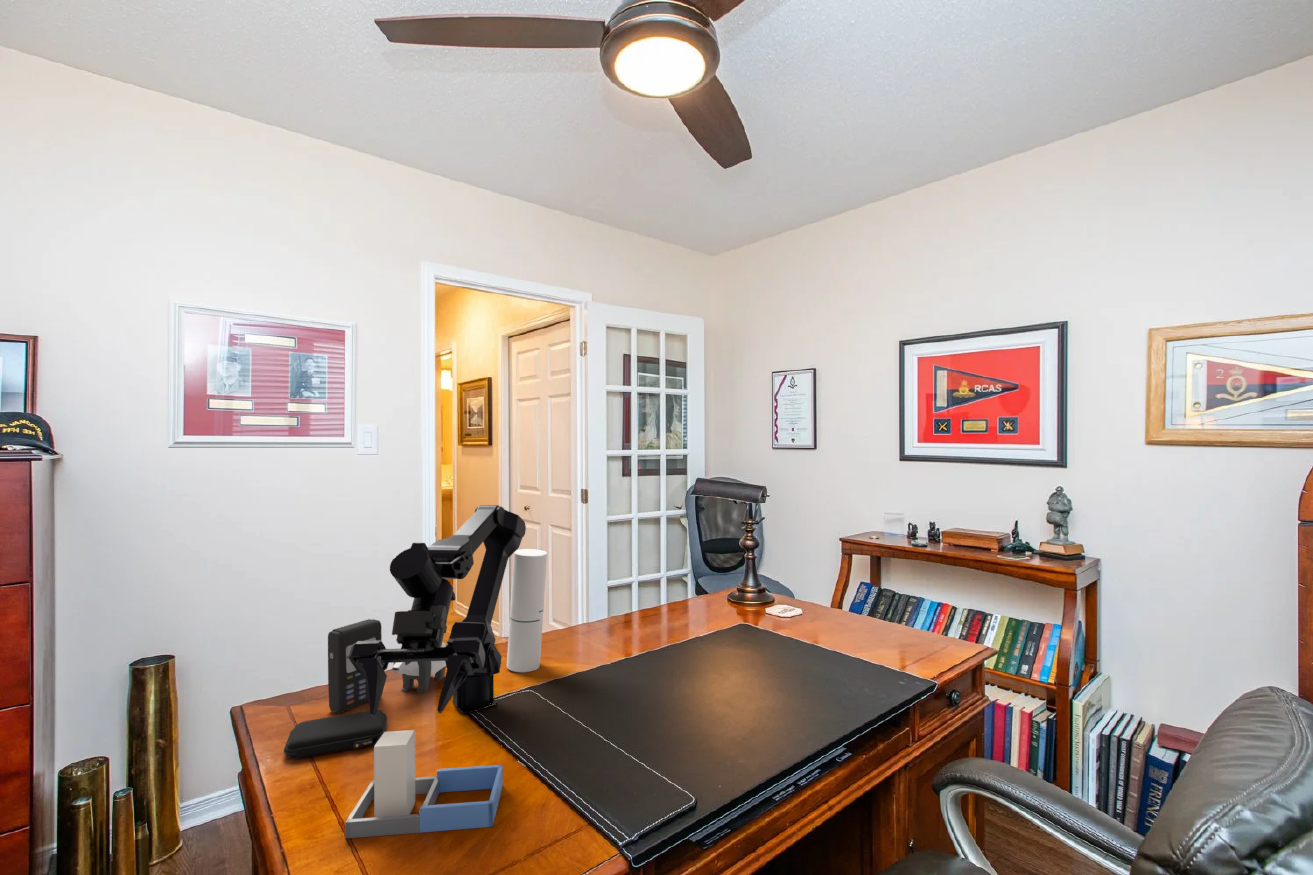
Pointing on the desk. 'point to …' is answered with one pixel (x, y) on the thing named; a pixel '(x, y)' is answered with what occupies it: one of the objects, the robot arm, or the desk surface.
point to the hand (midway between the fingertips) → (405, 713)
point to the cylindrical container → (526, 610)
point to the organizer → (433, 814)
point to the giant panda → (420, 673)
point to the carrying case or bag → (335, 734)
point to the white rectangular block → (394, 774)
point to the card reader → (348, 665)
